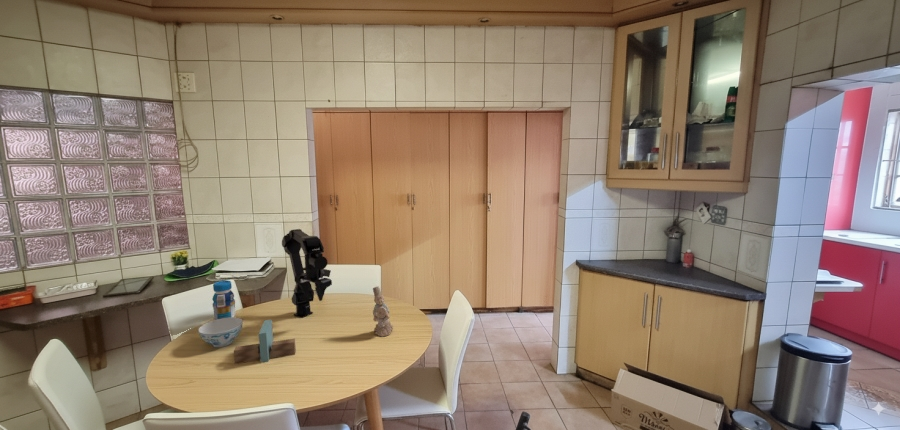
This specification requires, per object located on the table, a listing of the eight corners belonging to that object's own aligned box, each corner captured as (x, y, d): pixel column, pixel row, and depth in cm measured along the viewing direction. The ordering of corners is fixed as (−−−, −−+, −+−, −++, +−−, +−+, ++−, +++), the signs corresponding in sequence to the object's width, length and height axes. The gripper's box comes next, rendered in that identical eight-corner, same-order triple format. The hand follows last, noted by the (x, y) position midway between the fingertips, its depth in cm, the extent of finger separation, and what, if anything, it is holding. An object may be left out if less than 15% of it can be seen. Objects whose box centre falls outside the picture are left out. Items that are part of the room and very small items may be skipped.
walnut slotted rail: (234, 363, 127) (233, 350, 126) (236, 359, 130) (235, 346, 129) (294, 354, 133) (294, 342, 133) (295, 350, 136) (294, 338, 136)
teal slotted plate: (266, 346, 139) (264, 320, 138) (273, 345, 140) (271, 319, 138) (260, 362, 128) (258, 333, 126) (268, 361, 129) (266, 332, 127)
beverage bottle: (210, 327, 156) (206, 284, 153) (228, 320, 163) (224, 278, 161) (223, 331, 153) (219, 286, 150) (241, 323, 160) (237, 280, 158)
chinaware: (252, 338, 146) (251, 321, 145) (215, 356, 132) (213, 336, 131) (229, 331, 152) (227, 314, 151) (191, 347, 139) (189, 329, 137)
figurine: (373, 328, 155) (371, 284, 152) (392, 326, 156) (391, 283, 154) (373, 338, 146) (371, 291, 143) (394, 336, 148) (392, 290, 145)
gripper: (340, 263, 158) (342, 297, 160) (313, 258, 167) (315, 289, 170) (320, 269, 148) (321, 305, 150) (292, 263, 158) (294, 296, 160)
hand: (313, 298), depth 158 cm, fingers open, 9 cm apart
